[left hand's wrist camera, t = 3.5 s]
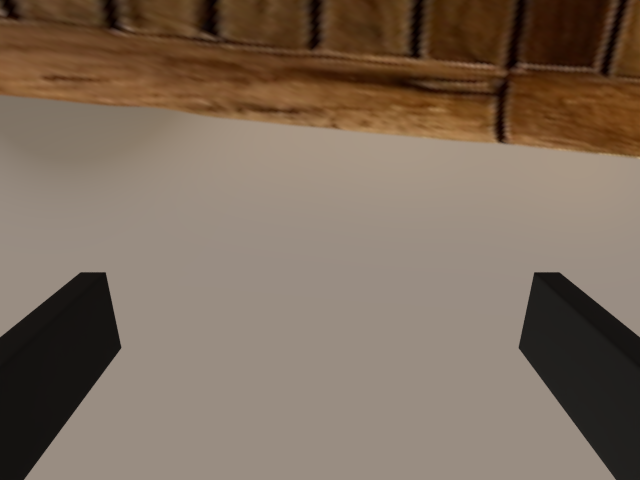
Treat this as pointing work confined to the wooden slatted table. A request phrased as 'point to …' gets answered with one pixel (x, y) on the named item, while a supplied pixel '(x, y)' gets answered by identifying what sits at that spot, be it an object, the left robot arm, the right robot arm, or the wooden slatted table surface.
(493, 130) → the wooden slatted table surface
